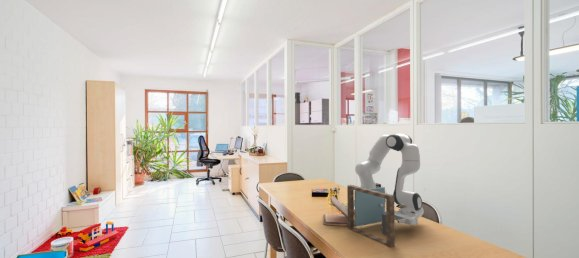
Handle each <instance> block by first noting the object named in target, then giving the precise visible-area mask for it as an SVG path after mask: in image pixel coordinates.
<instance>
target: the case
mask: <svg viewBox="0 0 579 258" xmlns="http://www.w3.org/2000/svg"><path fill="white" fill-rule="evenodd" d="M330 202H331V205H332V206H333V207H334V208H336V209H337V210H338V211H339V212H340V213H324V214H323V222H322V224H323V225H324V226H339V227H340V226H342V227H348V207H346V206H345V205H344V204H343V203H342V202H341V201H340V200H339V199H337V198H336V197H335V196H334V195H330ZM354 223H355V220H354Z"/></svg>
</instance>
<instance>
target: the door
mask: <svg viewBox="0 0 579 258" xmlns="http://www.w3.org/2000/svg"><path fill="white" fill-rule="evenodd" d="M385 187H386V186H385ZM385 187H384V186H381V187H379V188H371V189H370V190H374V191H378V192H382V193H385V192H386V190H385V189H386V188H385ZM354 200H355V211H354V221H355V222H354V227H355V228H357V227H362V226H365V225H366V226H367V225H372V224H377V223H382V214H384V211H385V210H386V199H385V198H382V197H378V196H374V195H370V194H366V193H363V192H359V191H355V190H354Z"/></svg>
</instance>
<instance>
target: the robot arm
mask: <svg viewBox="0 0 579 258" xmlns="http://www.w3.org/2000/svg"><path fill="white" fill-rule="evenodd" d="M391 150H393V151H397V152H400V153H401V165H400V167H398V169H397V172H396V177H395V184H394V190H393V194H392V195H394V204H396V205H400V206H405V207H402V208H400V209H398V211H397V210H395V209H394V221H397V223H398V224H406V225H408V226H413V225H418V223H419V222H418V219H419V218H421V217H423V215H424V211H425V210H424V208H423V200H422V197H421V195H420V194H419V193H418V192H414V191H409V190H408V191H406V190H405V189H404V184H405V180H406V179H405V178H406V177H407V176H410V175H412V174H416V173H417V172H418V171H419V170H420V169H421V155H420V148H419V146H418V145H416V144H415V143H413V139H412V137H411V136H410V135H408V134H404V133H392V134H383V135H381V136H380V137H379V138H378V139H377V141H376V142H375V143H374V145H373V147H372V148H371V150H369V156H368V159H367V160H365V161H361V162H359V163H358V164H356V165H355V167H354V168H355V169H354V171H355V173H356V174H357V175H358V177H359V183H360V187H362V188H366V189H371V188H376V183H377V182H375V180H374V177H373V175H375V174H377V173H378V172H380V170H381V165H382V164H383V163H382V162H383V160H384V159H385V158H386V156H387V155H388V153H389V151H391ZM354 206H355V199H354ZM384 213H386V209H385V211H384Z"/></svg>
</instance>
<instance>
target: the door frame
mask: <svg viewBox="0 0 579 258" xmlns="http://www.w3.org/2000/svg"><path fill="white" fill-rule="evenodd" d="M346 188H347V189H346V191H347V197H346V198H347V209H348V226H347V229H349V230H351V231H353V232H355V233H357V234H360V235H362V236H365V237H367V238H369V239H372V240H373V241H376V242H378V243H380V244H383V245H385V246H387V247H390V248H393V247H396V244H395V243H396V242H395V240H396V239H395V234H396V233H395V230H396V229H395V223H394V221H395V220H394V210H395V202H394V195H393V194H390V193H382V192H378V191H374V190H370V189H366V188H362V187H361V186H357V185H354V184H348V185H347V187H346ZM355 191H359V192H363V193H366V194H370V195H374V196H378V197H382V198H385V210H386V234H387V235H386V239H383V238H381V237H379V236H376V235H374V234H372V233H369V232H367V231H364V230H362V229H360V228H357V227H356V226H355V222H354V221H355V211H354V200H355Z"/></svg>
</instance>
